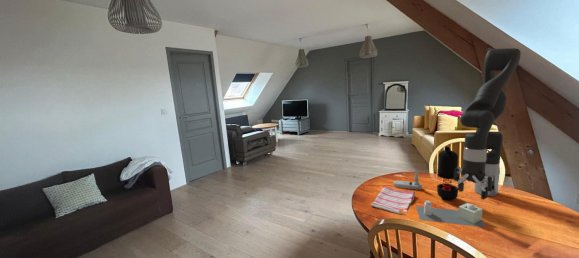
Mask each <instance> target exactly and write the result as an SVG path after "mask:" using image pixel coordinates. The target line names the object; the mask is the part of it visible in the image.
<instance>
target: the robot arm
mask: <svg viewBox="0 0 579 258" xmlns="http://www.w3.org/2000/svg"><path fill="white" fill-rule="evenodd" d="M520 59H521V49H519V48H514V47H512V48H491V49H489V50H487V53H486V55H485V58H484V63H483V65H484V66H483V83H482V86H480V88H479V89H478V91H477V93H476V95H475V96H474V97H475V98H473V101H472V102H471V103H470V104H469V105H468V106H467V107H466V108H465V109H464V110H463V111H462V113H461V115H460V119H459V121H460V123H461V125H462V126H463V127H465V128H473V129H476V130H475V132H468V133H467V134H465V136H464V144H463V145H464V147H463V153H462V156H463V157H462V168H461V167H460V166H457V168H455V169H454V178H453V179H452V180H453V181H455V182H457V188H458V192H460V193H461V192H464V189H465V183H464V182H466V181H467V182H472V183H474V192H475V193H476V194H478V195H480V199H481V200H486V199H487V198H488V197H495V196H497V195H498V192H499V181H500V176H499V174H500V164H501V163H500V161H501V154H502V148H503V141H504V139H503V138H504V137H503V134H502V133H501V132H500V131H491V128H492V126H493V124H494V123H495V121H496V120H497V119H498V118H500V116H501V115H502V114H503V113H504V112H505V109H506V105H507V95H506V92H505V91H504V89H503V88H504V87H505V86H506V84H507V83H508V81H509V80H510V79H511V77H512V76H513V74H514V72H515V71H516V69H517V67H518V65H519V63H520ZM495 71H500V73H498V74H497V75H496V74H495ZM487 150H489V151H487ZM461 174H462V175H463V176H461ZM460 177H461V178H460Z"/></svg>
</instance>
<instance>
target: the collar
mask: <svg viewBox="0 0 579 258" xmlns="http://www.w3.org/2000/svg"><path fill="white" fill-rule="evenodd" d="M467 204H470V203H468V202H466V203H464V204H462V205H459V206H458V210H459V212H458V217H459V218H462V219H464V220H466V221H468V222H470V223H473V224H474V223H476V222H478V221H480V220H482V219H483V208H482V207H480V206H477V205H474V210H473V211H472V210H470V209H467ZM482 221H483V220H482Z"/></svg>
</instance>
